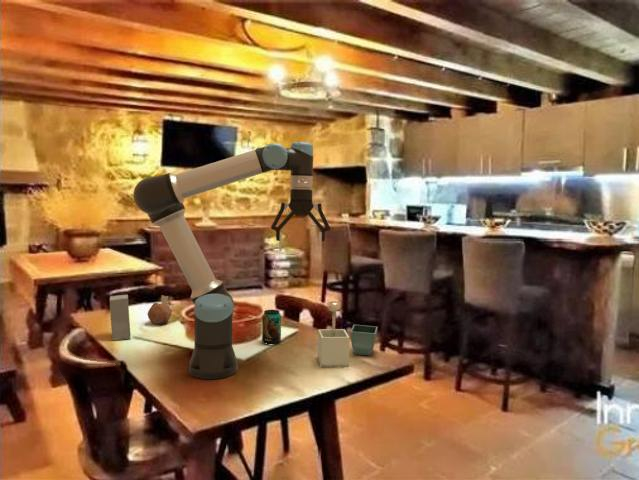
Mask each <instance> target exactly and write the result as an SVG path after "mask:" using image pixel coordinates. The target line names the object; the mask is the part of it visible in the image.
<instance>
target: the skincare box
mask: <svg viewBox="0 0 639 480" xmlns="http://www.w3.org/2000/svg"><path fill="white" fill-rule="evenodd" d="M109 311H110V325H111V337H112V338H111V339H112V341H121V340H122V341H123V340H124V341H125V340H131V322H130V310H129V295H128V294H119V295H110V296H109Z"/></svg>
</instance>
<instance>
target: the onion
mask: <svg viewBox="0 0 639 480" xmlns="http://www.w3.org/2000/svg"><path fill="white" fill-rule="evenodd" d="M170 307H171V306H170ZM170 307H169V306H168V304H167V305H166V304H162V303H159V302H153V304H152V305H151V306H150V307H149V309H148V311H147V318H148V320H149V322H150V323H151V324H154V325H160V326H162V325H165V324H166V323H168V322H169V320H170V319H171V317H172V309H171V308H170Z"/></svg>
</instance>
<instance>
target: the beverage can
mask: <svg viewBox="0 0 639 480" xmlns="http://www.w3.org/2000/svg"><path fill="white" fill-rule="evenodd" d="M261 319H262V321H261V323H262V324H261V325H262V327H261V329H262V331H261V342H262V343H263V342H264V343H267V344H276V345H278V344H279V343H280V342H281V341H282V314H281V313H280V310H278V309H267V310H264V311H263V315H262V317H261ZM264 343H263V344H264ZM267 344H266V345H267Z"/></svg>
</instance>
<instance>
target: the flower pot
mask: <svg viewBox="0 0 639 480" xmlns="http://www.w3.org/2000/svg"><path fill="white" fill-rule="evenodd" d="M378 328H379V327H378V326H374V325H373V326H372V325H361V324H353V325H352V328H351V330H350V342H351V347H352V350H353V352H354V353H355V355H357V356H358V355H360V356H361V355H362V356H371V354H372V352H373V350H374V349H375V344H376V340H377V335H378V334H377V333H378Z"/></svg>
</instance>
